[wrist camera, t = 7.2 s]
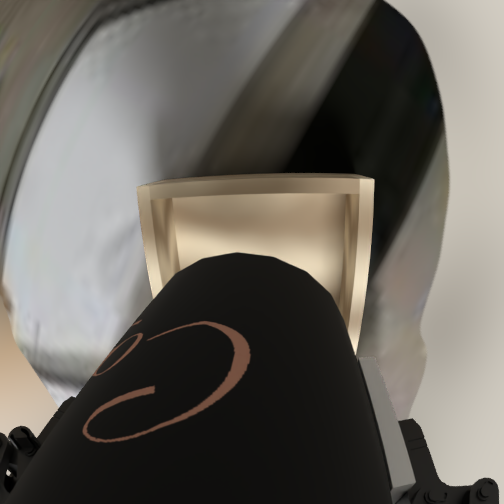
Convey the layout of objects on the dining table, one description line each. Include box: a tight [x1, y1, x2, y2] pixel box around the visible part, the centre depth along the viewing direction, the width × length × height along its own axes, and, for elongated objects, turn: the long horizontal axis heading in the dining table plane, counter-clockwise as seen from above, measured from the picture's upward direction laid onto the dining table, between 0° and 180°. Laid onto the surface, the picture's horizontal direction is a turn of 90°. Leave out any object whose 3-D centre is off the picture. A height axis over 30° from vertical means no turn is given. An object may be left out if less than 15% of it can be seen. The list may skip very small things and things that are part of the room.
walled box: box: [137, 173, 374, 355], centre depth 23 cm, size 20×16×5 cm
